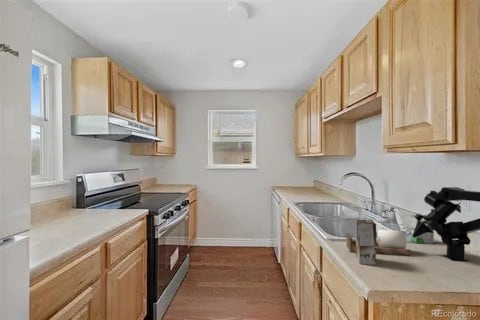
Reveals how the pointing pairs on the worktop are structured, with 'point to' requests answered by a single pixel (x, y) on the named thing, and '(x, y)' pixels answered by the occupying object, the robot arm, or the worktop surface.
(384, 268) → the worktop surface
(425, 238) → the ink box
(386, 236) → the kitchen roll
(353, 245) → the brown tray
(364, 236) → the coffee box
